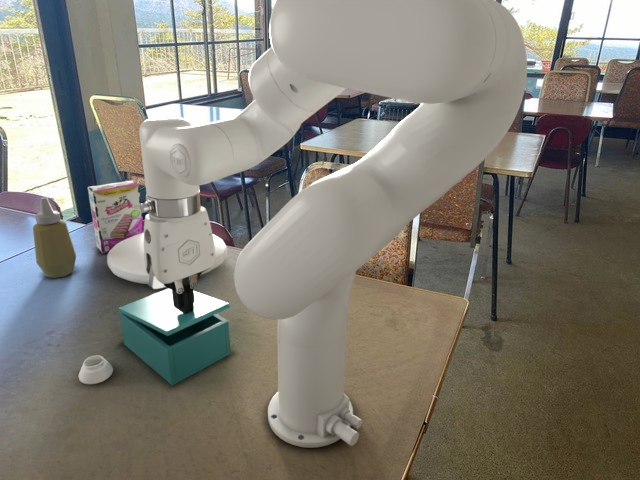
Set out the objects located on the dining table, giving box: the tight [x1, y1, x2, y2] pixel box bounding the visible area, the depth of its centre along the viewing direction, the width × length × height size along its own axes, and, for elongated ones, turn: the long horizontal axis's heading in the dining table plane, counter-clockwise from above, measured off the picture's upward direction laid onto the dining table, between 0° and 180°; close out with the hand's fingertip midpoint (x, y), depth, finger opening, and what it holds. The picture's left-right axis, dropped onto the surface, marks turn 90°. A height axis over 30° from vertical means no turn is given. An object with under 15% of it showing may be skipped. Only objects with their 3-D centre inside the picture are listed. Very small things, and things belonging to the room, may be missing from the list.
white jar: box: [78, 354, 114, 385], centre depth 77 cm, size 5×3×5 cm
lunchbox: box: [118, 311, 231, 386], centre depth 84 cm, size 16×12×7 cm
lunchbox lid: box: [118, 288, 231, 336], centre depth 81 cm, size 16×12×1 cm
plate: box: [106, 233, 228, 285], centre depth 114 cm, size 28×6×27 cm
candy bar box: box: [87, 180, 144, 254], centre depth 121 cm, size 11×5×16 cm, turn 130°
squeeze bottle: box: [32, 196, 77, 279], centre depth 106 cm, size 8×8×18 cm
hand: (184, 309), depth 79 cm, fingers closed
